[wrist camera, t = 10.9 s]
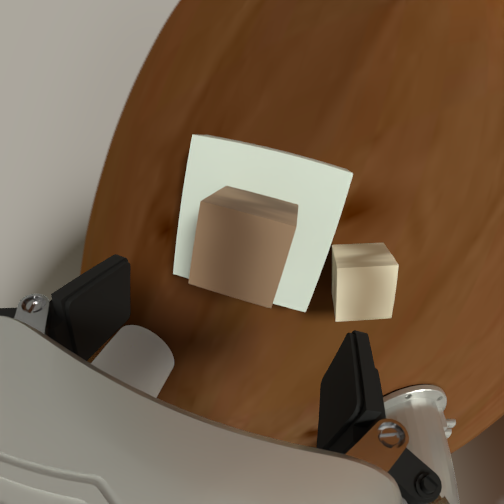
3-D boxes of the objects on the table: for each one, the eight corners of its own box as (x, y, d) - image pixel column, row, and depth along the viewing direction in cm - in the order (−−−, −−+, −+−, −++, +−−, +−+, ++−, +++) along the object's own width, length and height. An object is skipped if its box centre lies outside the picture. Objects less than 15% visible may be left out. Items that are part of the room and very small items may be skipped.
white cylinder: (108, 324, 31) (52, 387, 20) (158, 324, 29) (101, 403, 18) (134, 371, 33) (92, 434, 22) (183, 376, 31) (145, 452, 20)
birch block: (383, 242, 21) (398, 264, 17) (379, 289, 23) (391, 317, 19) (331, 244, 22) (337, 268, 18) (331, 291, 24) (335, 321, 20)
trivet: (346, 169, 19) (353, 173, 17) (306, 292, 24) (305, 312, 21) (206, 134, 20) (192, 134, 17) (186, 259, 25) (173, 273, 22)
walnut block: (298, 204, 18) (296, 226, 14) (279, 270, 20) (271, 308, 16) (226, 185, 18) (200, 200, 14) (213, 251, 20) (188, 283, 16)
